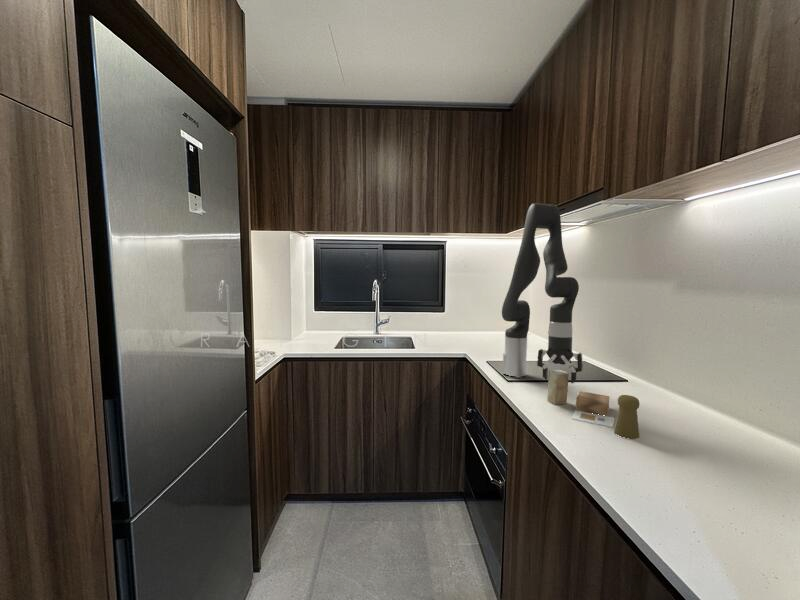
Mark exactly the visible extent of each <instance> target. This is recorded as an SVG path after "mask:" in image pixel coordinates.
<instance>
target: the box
mask: <svg viewBox="0 0 800 600" xmlns="http://www.w3.org/2000/svg"><path fill="white" fill-rule="evenodd" d="M547 380H548V383H547V398H546V399H547V400H546V401H547V402H549V403H550V404H553V405H555V406H556V405H557V406H558V405H567V404H568V392H569V391H568V389H569V387H568V386H569V372H568V371H564V370H562V369H556V370H555V369H553V370H548V379H547Z"/></svg>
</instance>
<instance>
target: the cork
mask: <svg viewBox="0 0 800 600" xmlns="http://www.w3.org/2000/svg"><path fill="white" fill-rule="evenodd" d="M617 405H618V406H619V408H618V413H617V418H616V422H615V426H614V432H613V433H614V434H615V435H616V434H617V436H618V435H619V436H618V437H620V436H621V438H623V437H625V438H624V439H627V438H629V439H628V440H638V439H640V430H639V420H638V418H639V417H638V409H640V405H641V404H640V400H639V399H638V397H635V396H633V395H629V394H622V395H619V396H618V397H617Z"/></svg>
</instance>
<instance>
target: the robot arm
mask: <svg viewBox="0 0 800 600" xmlns="http://www.w3.org/2000/svg"><path fill="white" fill-rule="evenodd" d="M561 219H562V218H561V213H560V209H559V207H558V206H557V205H556V204H550V203H538V202H537V203H536V202H535V203H531V205H530V206H529V207H528V210H527V212H526V217H525V223H524V227H523V233H522V238H521V243H520V247H519V251H518V255H517V258H516V261H515V264H514V269H513V273H512V277H511V279H510V284H509V287H508V290H507V293H506V296H505V298H504V300H503V302H502V303H503V304H502V307H501V317H502V319H503V320H504V321H505V322H511V323H512V322H513V323H514V325H513V326H511V327H509V328H507V329H506V330H505V333H504V353H503V354H502V356H503V357H502V358H503V359H502V375H503V374H506V375H509V376H508V377H510V376H519V377H518V378H521V377H520V376H525V375H527V348H528V346H527V345H528V334H529V329H530V319H531V318H530V316H531V308H530V304H529V303H528V301H526V300H519V298H520V296H521V295H522V293H523V292H524V291H525V290H526V289H527V288H528V287H529V286H530V284H532V283H533V281H534V280H535V279H536V277H537V275H538V271H539V269H540V265H541V257H540V253H539V251H538V248H537V245H536V240H535V239H536V231H537V229H541V230H542V229H543V230H544V229H545V230H548V233H549V238H548V240H547V242H546V244H545V246H544V249H543V253H542V254H543V255H542V257H543V261H544V266H545V284H544V291H545V293H546V295H547V296H548V297H549V298H554V299H555V298H559V299H560V298H562V301H561V302H559V303H556V304H553V305H551V306H550V309H549V324H548V331H547V332H548V333H547V334H548V336H547V337H548V343H547V345H548V346H547V350H545V349H543V348H540V349H538V351H537V352H538V353H537V367H540V368H542V378H544V380H545V381H546V380H548V378H549V366H550V365H551V363H553V364H556V365H557V364H559V365H561V366H562V365H563V366H564V365H566V366H567V367H568V368H569V369H570V371H571V373H570V374H571V375H570V377H571V378H570V383H571V384H574V383H576V381H577V373H579V372H582V371H583V369H584V368H583V353H582V352H578V353H575V352H573V309H574V306H575V303H576V302H575V301H576V299H577V296H578V294H579V290H580V289H579V288H580V286H579V282H578V280H577V279H576V278H575V277H573V276H572V277H571V276H561V275H564V274H565V273H566V272H567V270H568V263H567V259H566V255H565V251H564V246H563V237H562V236H563V234H562V220H561ZM545 355H547V357H548V358H549V359H548V360H547V361H546V362H545V363H543V358H544V356H545ZM573 357H574V359H575V360H576V361H577V367H576V366H575V365H574V363H573V362H572V358H573ZM506 375H505V376H506ZM525 377H526V376H525Z"/></svg>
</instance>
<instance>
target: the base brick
mask: <svg viewBox="0 0 800 600" xmlns="http://www.w3.org/2000/svg"><path fill="white" fill-rule="evenodd" d="M575 400H576V401H575V410H577V411H582V412H587V413H593V414H599V415H605V416H608V414H609V410H610V395H607V394H606V395H605V394H600V393H593V392H587V391H581V390H579V392H578V394H577V395H576V399H575ZM608 409H609V410H608Z"/></svg>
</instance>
